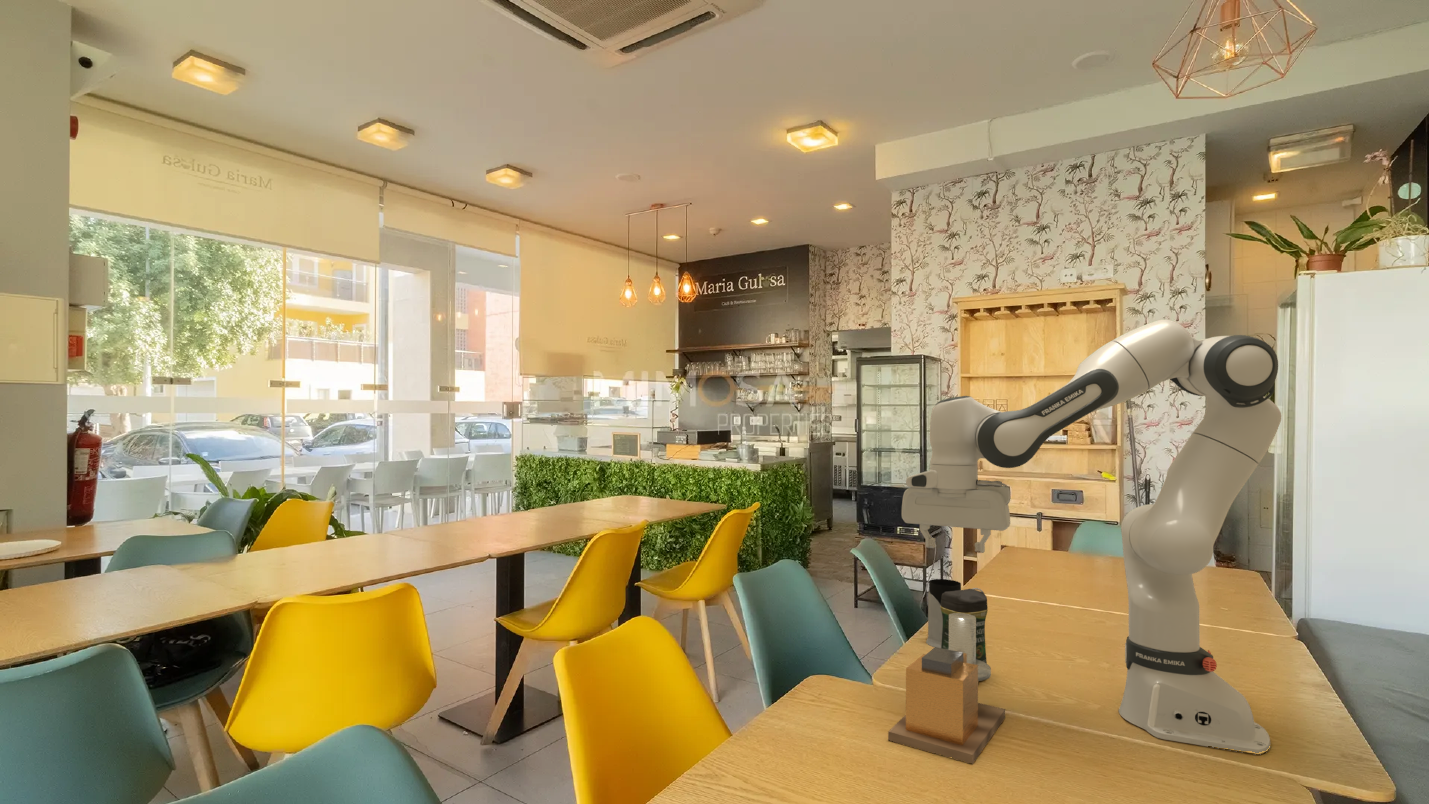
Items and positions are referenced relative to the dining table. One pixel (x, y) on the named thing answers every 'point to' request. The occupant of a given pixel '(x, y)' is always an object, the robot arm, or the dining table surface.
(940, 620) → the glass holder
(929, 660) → the grey t-shaped block
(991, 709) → the walnut base board
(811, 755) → the dining table surface
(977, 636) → the coffee jar
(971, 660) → the wooden slotted box
